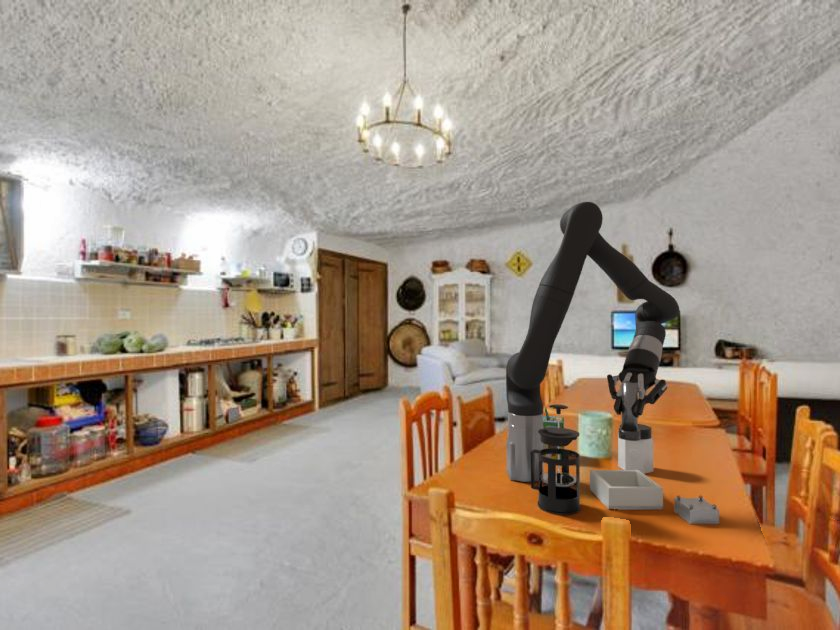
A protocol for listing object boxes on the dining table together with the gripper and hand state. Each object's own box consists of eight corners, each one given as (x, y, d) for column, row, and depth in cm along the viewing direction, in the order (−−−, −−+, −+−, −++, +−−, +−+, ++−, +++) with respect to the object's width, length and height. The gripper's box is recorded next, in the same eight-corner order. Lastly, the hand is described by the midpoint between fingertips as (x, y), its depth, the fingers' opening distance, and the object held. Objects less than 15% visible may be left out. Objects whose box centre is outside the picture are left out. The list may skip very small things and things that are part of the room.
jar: (616, 471, 129) (616, 427, 129) (619, 462, 136) (619, 421, 136) (652, 476, 124) (652, 431, 124) (654, 467, 131) (653, 425, 131)
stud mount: (689, 523, 96) (689, 505, 96) (674, 511, 102) (674, 494, 102) (719, 523, 96) (719, 505, 96) (701, 511, 102) (701, 494, 102)
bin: (608, 509, 103) (608, 488, 103) (589, 489, 115) (589, 470, 115) (663, 509, 103) (662, 488, 103) (638, 489, 115) (638, 470, 115)
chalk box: (564, 462, 137) (564, 412, 137) (532, 459, 140) (532, 410, 140) (565, 453, 145) (564, 406, 145) (535, 450, 148) (534, 404, 148)
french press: (589, 505, 106) (588, 404, 106) (576, 520, 98) (575, 411, 98) (539, 493, 113) (539, 399, 113) (523, 506, 105) (523, 405, 105)
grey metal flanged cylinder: (623, 440, 106) (624, 383, 106) (615, 435, 110) (616, 380, 110) (643, 441, 106) (644, 384, 106) (635, 435, 110) (635, 381, 110)
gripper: (610, 345, 118) (591, 400, 109) (672, 349, 109) (656, 408, 100) (617, 365, 122) (599, 418, 113) (677, 369, 113) (663, 428, 104)
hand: (626, 413), depth 107 cm, fingers closed on grey metal flanged cylinder, 3 cm apart
